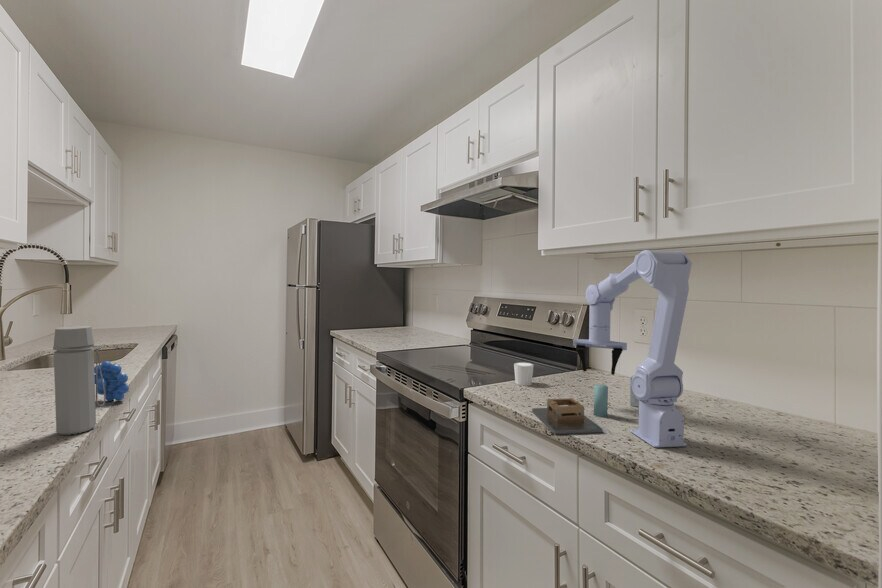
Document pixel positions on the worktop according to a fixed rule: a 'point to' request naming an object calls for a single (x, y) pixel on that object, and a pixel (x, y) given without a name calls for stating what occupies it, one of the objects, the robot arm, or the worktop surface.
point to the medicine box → (633, 397)
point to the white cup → (523, 373)
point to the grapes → (111, 381)
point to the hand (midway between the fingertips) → (598, 372)
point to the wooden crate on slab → (566, 417)
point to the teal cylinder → (600, 400)
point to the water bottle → (75, 379)
